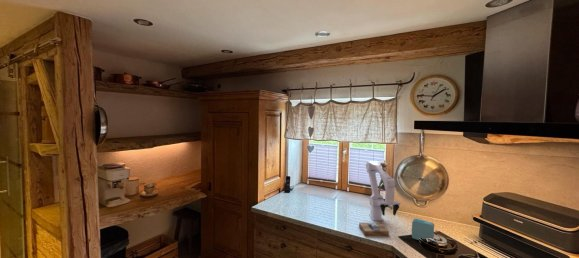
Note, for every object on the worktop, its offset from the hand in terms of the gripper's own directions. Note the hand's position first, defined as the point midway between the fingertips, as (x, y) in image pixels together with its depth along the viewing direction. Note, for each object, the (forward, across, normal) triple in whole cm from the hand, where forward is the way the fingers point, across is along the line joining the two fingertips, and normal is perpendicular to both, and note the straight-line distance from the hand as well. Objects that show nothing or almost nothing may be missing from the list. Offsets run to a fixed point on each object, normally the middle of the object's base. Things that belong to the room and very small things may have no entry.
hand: (388, 214), depth 162 cm
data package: (+10, +16, -14) cm, 24 cm away
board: (+10, -12, -4) cm, 16 cm away
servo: (+10, -12, -4) cm, 16 cm away
